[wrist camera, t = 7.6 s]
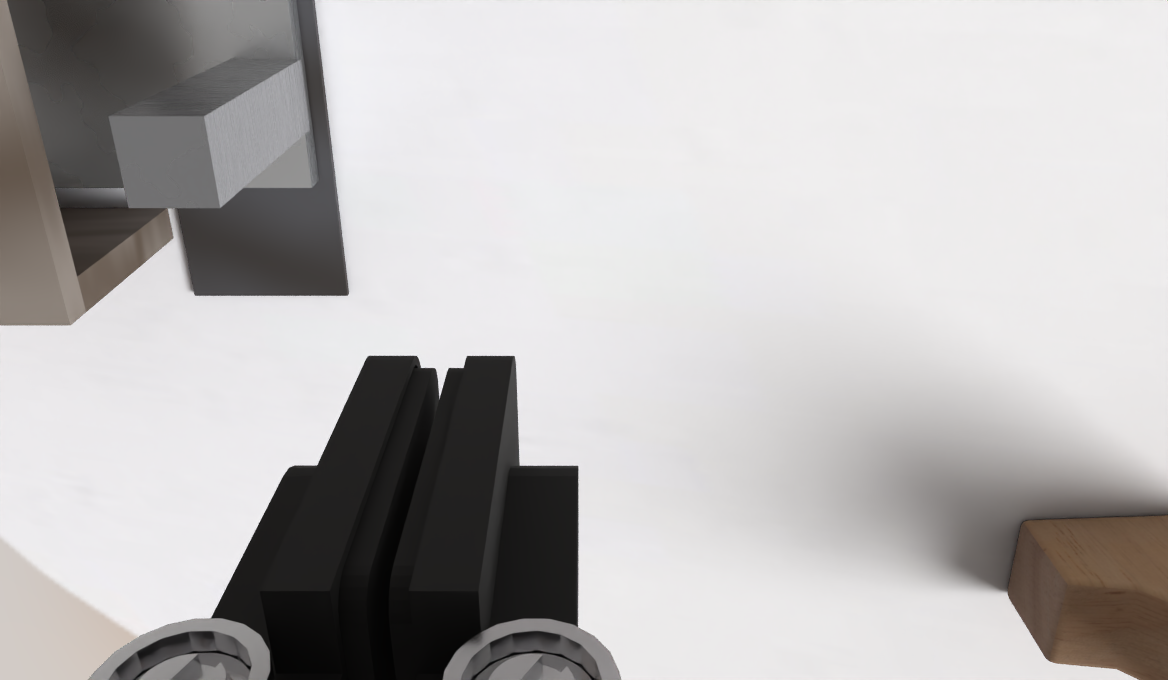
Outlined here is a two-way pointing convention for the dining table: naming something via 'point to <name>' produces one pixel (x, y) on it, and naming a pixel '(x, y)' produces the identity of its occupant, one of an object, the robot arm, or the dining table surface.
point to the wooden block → (1096, 591)
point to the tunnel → (157, 219)
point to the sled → (169, 96)
